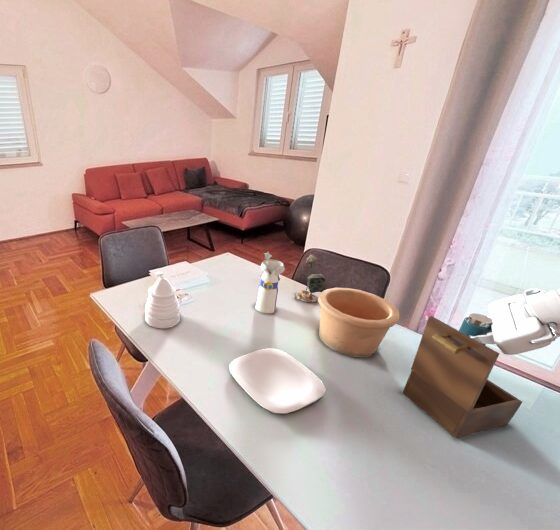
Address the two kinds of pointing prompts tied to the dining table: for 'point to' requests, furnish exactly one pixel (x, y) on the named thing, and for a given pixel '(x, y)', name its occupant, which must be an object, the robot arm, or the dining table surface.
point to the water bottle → (268, 285)
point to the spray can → (476, 325)
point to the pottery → (354, 320)
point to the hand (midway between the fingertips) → (469, 334)
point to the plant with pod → (312, 284)
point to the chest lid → (453, 363)
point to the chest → (458, 422)
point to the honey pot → (162, 304)
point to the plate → (276, 380)
